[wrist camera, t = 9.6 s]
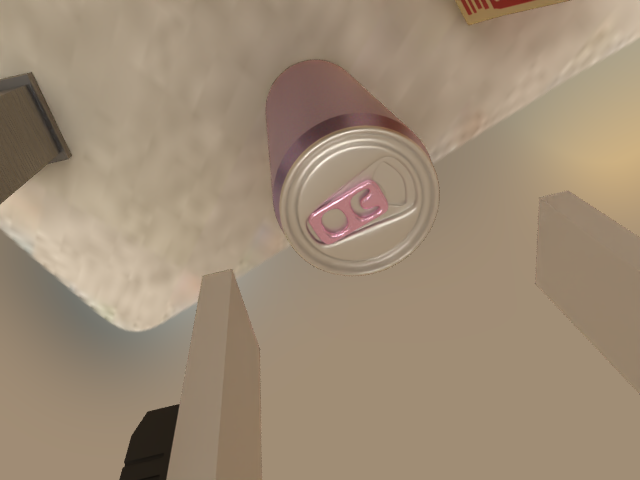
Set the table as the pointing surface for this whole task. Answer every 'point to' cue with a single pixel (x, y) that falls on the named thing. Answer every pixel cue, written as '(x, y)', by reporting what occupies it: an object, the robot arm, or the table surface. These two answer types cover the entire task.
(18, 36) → the table surface
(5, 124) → the stile
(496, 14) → the milk carton
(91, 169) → the table surface
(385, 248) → the beverage can
